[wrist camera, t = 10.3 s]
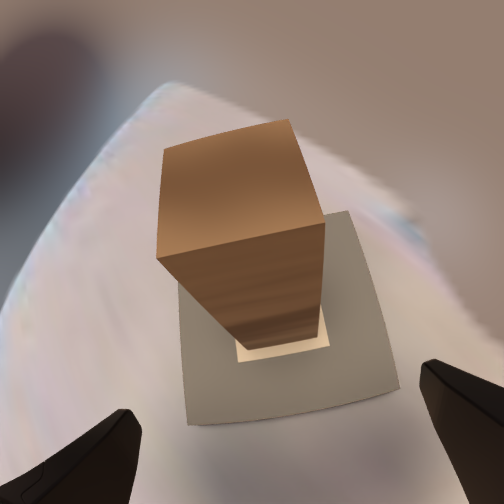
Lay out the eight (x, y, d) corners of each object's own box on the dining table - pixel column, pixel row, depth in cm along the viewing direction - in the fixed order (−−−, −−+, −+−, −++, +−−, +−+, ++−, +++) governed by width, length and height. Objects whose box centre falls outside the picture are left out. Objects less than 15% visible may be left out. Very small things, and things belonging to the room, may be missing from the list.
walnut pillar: (317, 337, 19) (325, 222, 8) (247, 350, 19) (156, 258, 8) (303, 274, 21) (288, 118, 10) (239, 287, 22) (164, 149, 10)
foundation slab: (392, 390, 18) (401, 388, 16) (198, 424, 19) (186, 425, 17) (346, 224, 25) (348, 208, 23) (186, 257, 26) (176, 244, 24)
